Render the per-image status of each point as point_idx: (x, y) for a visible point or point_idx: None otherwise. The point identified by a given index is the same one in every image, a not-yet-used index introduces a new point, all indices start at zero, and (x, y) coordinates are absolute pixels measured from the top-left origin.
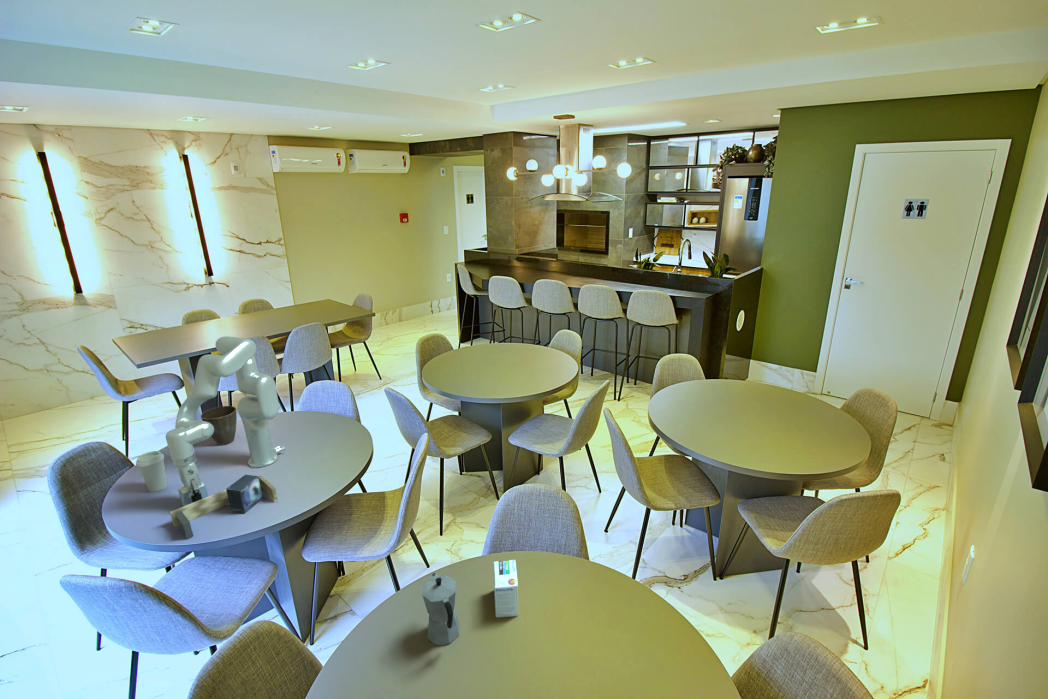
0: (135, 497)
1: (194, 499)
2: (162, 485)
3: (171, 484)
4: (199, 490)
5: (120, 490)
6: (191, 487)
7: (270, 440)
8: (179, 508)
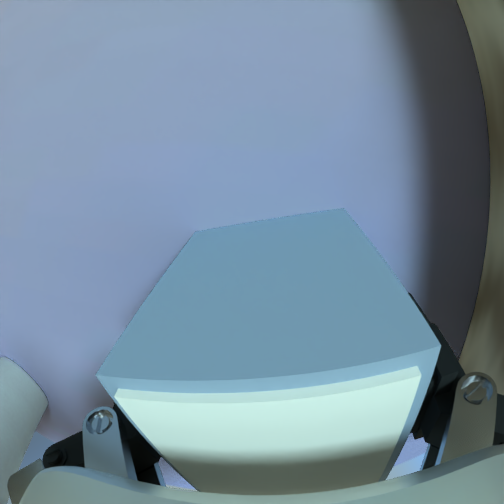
0: None
1: None
2: (23, 391)
3: (6, 348)
4: (493, 408)
5: None
6: (299, 484)
7: None
8: None
